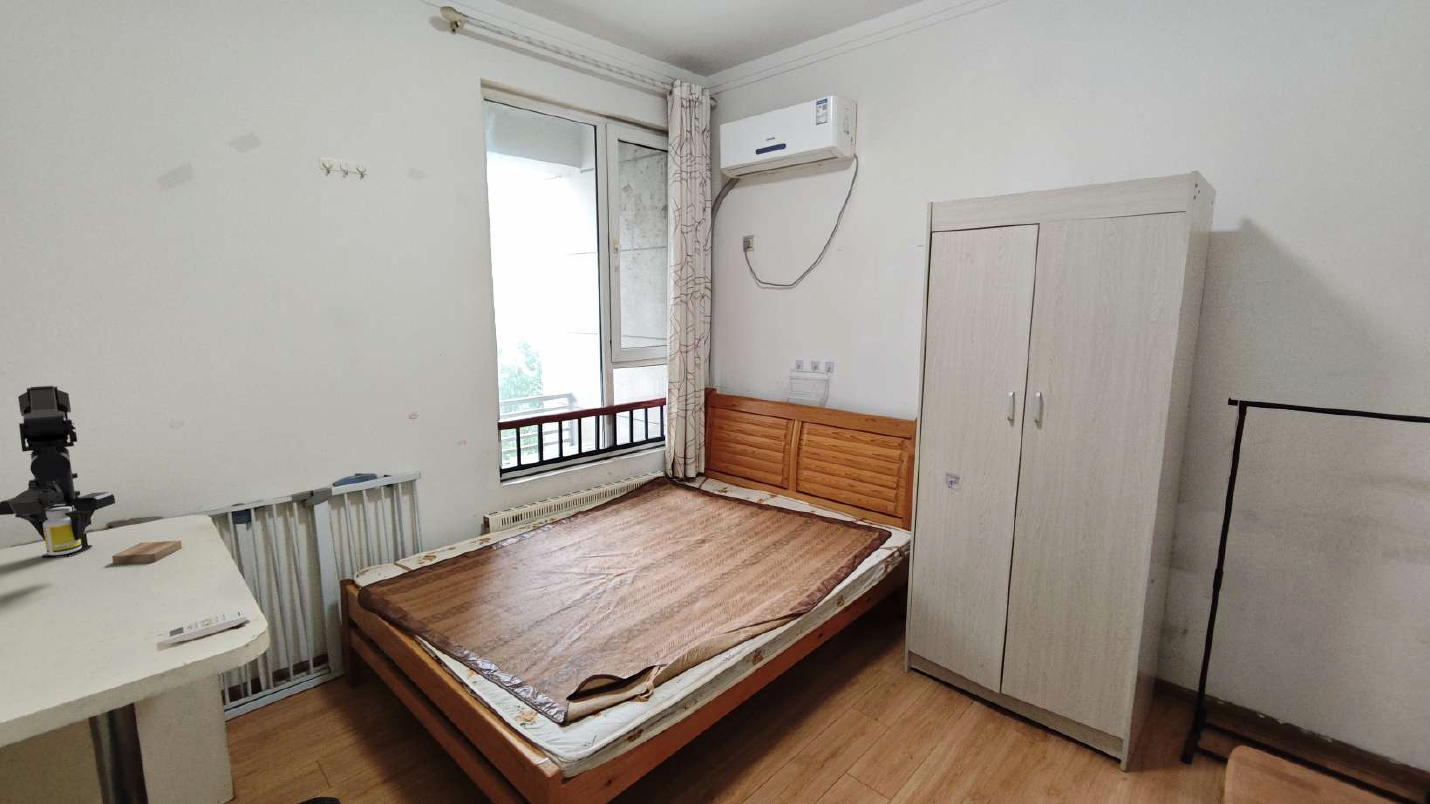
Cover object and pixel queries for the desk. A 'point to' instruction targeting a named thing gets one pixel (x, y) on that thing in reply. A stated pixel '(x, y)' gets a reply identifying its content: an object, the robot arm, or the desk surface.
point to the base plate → (147, 552)
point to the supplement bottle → (59, 532)
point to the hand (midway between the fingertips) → (63, 540)
